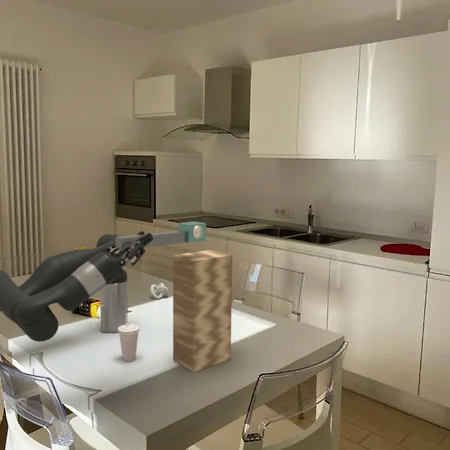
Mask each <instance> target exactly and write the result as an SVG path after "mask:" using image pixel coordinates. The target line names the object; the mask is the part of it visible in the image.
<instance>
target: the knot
mask: <svg viewBox="0 0 450 450" xmlns="http://www.w3.org/2000/svg"><path fill="white" fill-rule="evenodd" d="M149 288H150V289H149V290H150V293H151V296H152V297H153V298H154V299H156V300H161V299H162V297H164V298H166V297H168V296H169V295H170V291H169V288H168V287H167V286H165V284H164V283H163V282H160V283H159V284H158V285H157V284H151V286H150V287H149Z"/></svg>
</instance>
